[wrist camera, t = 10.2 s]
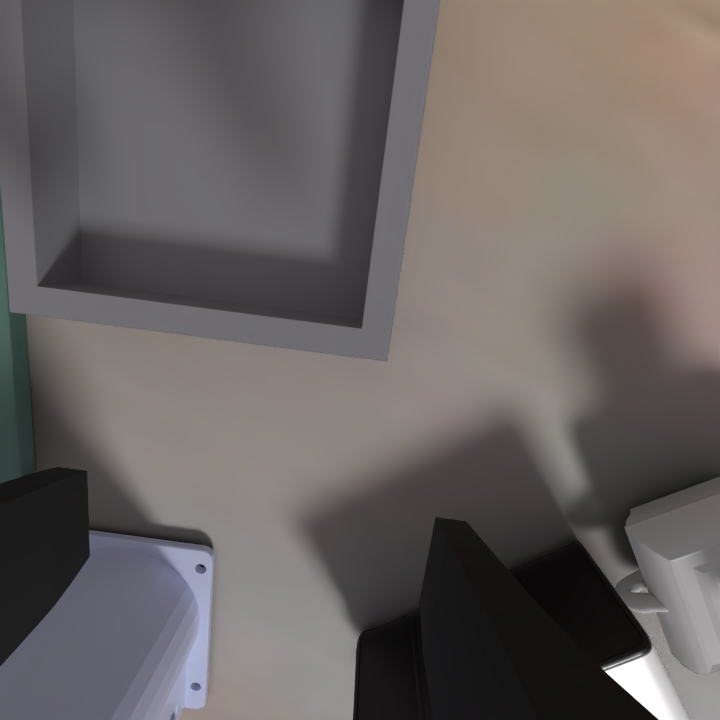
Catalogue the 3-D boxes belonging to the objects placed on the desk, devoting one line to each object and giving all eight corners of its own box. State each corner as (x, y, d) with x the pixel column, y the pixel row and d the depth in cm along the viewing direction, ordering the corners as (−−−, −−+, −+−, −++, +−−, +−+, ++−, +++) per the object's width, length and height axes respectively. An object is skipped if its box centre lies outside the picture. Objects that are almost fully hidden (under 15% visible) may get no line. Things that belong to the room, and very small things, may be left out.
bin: (385, 344, 17) (387, 361, 14) (72, 303, 17) (9, 312, 14) (439, -32, 14) (456, -109, 11) (57, -80, 14) (-26, -169, 11)
